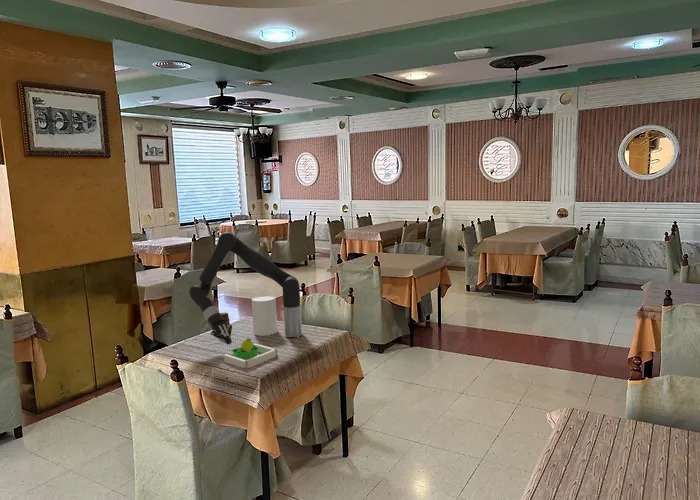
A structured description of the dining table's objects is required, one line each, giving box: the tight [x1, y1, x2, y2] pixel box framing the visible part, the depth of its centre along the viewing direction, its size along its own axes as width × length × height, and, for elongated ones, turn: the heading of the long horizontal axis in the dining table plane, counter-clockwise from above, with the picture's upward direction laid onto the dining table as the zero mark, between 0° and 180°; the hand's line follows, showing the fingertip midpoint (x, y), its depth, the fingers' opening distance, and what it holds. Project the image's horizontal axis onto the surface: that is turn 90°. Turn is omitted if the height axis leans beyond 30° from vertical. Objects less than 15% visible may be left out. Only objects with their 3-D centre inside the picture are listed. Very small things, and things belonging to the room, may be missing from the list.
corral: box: [223, 343, 279, 370], centre depth 247 cm, size 16×20×4 cm
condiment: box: [220, 312, 234, 336], centre depth 288 cm, size 7×8×12 cm
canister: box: [251, 294, 278, 337], centre depth 288 cm, size 14×14×20 cm
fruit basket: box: [231, 337, 259, 360], centre depth 246 cm, size 11×9×11 cm
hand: (229, 343), depth 256 cm, fingers closed
